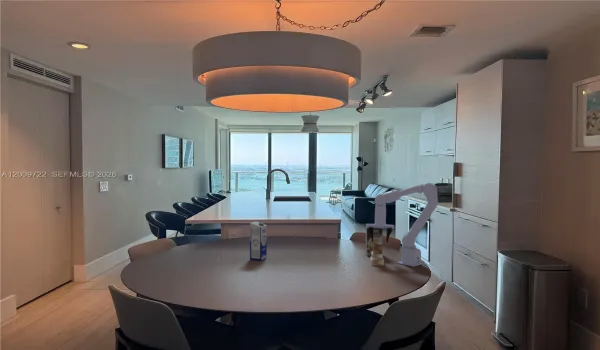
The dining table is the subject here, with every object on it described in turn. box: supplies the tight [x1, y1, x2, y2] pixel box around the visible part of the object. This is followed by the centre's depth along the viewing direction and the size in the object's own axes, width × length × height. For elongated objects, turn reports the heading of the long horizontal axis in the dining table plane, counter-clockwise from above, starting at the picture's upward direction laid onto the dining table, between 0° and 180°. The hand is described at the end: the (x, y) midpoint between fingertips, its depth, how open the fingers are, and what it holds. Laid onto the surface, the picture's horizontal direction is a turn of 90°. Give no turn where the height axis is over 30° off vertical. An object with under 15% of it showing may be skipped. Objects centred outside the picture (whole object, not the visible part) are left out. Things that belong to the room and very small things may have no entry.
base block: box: [370, 257, 385, 266], centre depth 191 cm, size 6×6×3 cm
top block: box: [370, 251, 384, 260], centre depth 191 cm, size 6×6×3 cm
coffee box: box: [365, 227, 384, 257], centre depth 210 cm, size 9×6×16 cm
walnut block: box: [373, 242, 383, 254], centre depth 191 cm, size 4×4×5 cm
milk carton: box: [249, 221, 268, 262], centre depth 198 cm, size 7×7×20 cm
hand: (379, 241), depth 196 cm, fingers open, 7 cm apart
